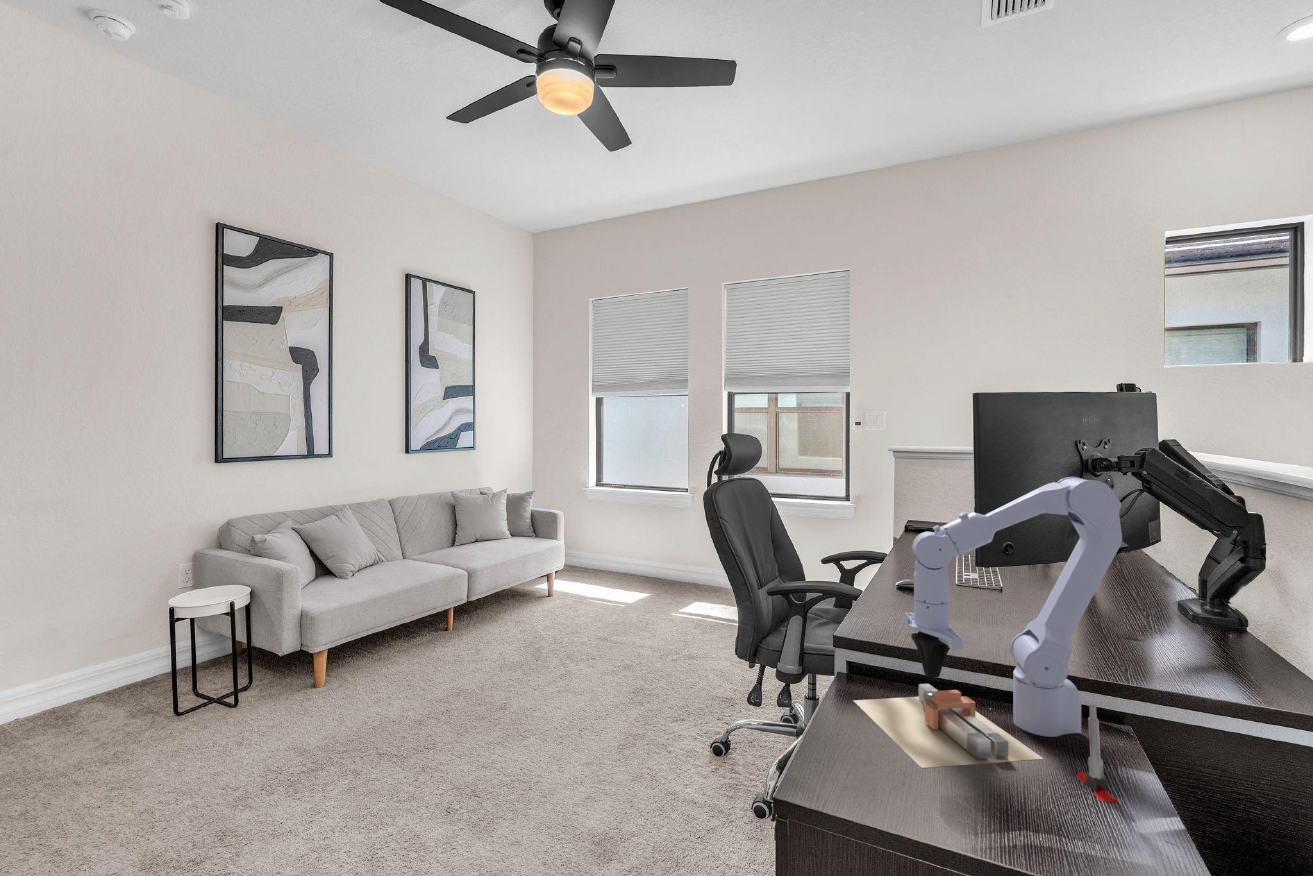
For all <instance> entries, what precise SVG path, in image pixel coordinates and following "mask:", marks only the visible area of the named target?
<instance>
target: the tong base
mask: <svg viewBox="0 0 1313 876" xmlns="http://www.w3.org/2000/svg"><path fill="white" fill-rule="evenodd" d="M935 691H939V690H938V689H937V688H935V687H934V686H933V685H931V684H930V683H920V684H918V697H919V700H920V701H922V702H923V711H924V712H925V699H928V698H935ZM948 710H949V711H951V712H952V713H953V714H955V715H956V716H957V717H959V718H960V719H961V720H963V721H964V722H965V723H966V724H968V725H969V726H970V727H972V728H973V729H974V730H976V731H977V732H978V733H981V734H982V735H983V736H985V737H986V738H987V739H988V740H990V741H991V757H992V758H993V759H994V760H1007V759H1008V740H1006V739H1005V738H1003V737H1002V736H1001V735H999V734H998V733H996V732H995V731H994V730H992V729H991V728H989V727H988V726H987V725H985V724H984V723H983V722H981V721H980V720H978V719H977V718H976V717H974V716H973V715H971V714H970V713H969V712H967V711H966V710H964V709H963V708H954V709H948Z"/></svg>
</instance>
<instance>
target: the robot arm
mask: <svg viewBox="0 0 1313 876" xmlns="http://www.w3.org/2000/svg"><path fill="white" fill-rule="evenodd" d="M1121 507H1122V503H1121V501H1120V500H1119V498H1118V497H1117V495H1116V494H1115V492H1114V491H1113V489H1112V487H1110V486H1109V485H1108V484H1106V483H1104V482H1103V481H1100V480H1095V479H1094V480H1093V479H1085V478H1081V477H1079V476H1068V477H1064V478H1061V479H1059V480H1058V481H1057V482H1055V481H1053V482H1050V483H1046V484H1045V485H1042V486H1040V487H1038V488H1035V489H1034V490H1031V491H1030V492H1028V493H1026V494H1024V495H1022V496H1020V497H1018V498H1016V499H1014V500H1012V501H1010V502H1008V503H1006V504H1004V505H1002V506H1000V507H998V508H996V509H994V510H992V511H989V512H987V513H986V514H981V513H978V512H974V511H973V512H970V513H967V512H966V511H964V512H961V513H959V514H958V515H957V516H958V518H957V519H955V520H953V521H950V522H948V523H946V524H944V525H942V526H939V525H938V524H937V525H935V526H933V527H932V529H933V531H934V532H933V531H924V532H921V533H919V534H918V535H917V536H915V539H914V540H913V542H912V544H911V551H912V553H913V555H914V557H915V559H914V560H915V561H914V573H913V598H914V599H913V600H914V601H913V602H914V603H913V604H914V605H913V607H914V609H913V611H914V612H904V623H905V624H906V625H908V628H909V629H910V630H912V631H915V632H913V633H911V635H910V637H911V639H912V641H913V643H914V645H915V647H916V649H917V652H918V654H919V657H920V661H921V666H922V669H923V673H924V675H925V676H926V677H928V678H939V677H940V675H941V672H942V669H943V665H944V663H945V659H946V656H947V654H948V653H949V652H950V650H952V651H953V650H963V649H964V644H963V642H964V639H963V637H962V636H960V635H959V634H958V633H957V631H955V629H953V627H952V626H951V625H950V575H949V565H950V563H951V562H952V559H953V557H955V558H957V557H959V556H962V555H964V554H967V553H969V552H971V551H974V550H975V549H978V548H980V547H982V546H985V545H988V544H989V543H991V542H993V540H994V536H995V533H996V532H998V531H1000V530H1003V529H1005V528H1008V527H1011V526H1014V525H1016V524H1018V523H1021V522H1023V521H1027V520H1029V519H1031V518H1032V519H1033V518H1035V517H1037V516H1039V515H1041V514H1049V515H1050V514H1051V515H1063V516H1066V517H1068V519H1069V520H1070V522H1071V523H1072V525H1073V527H1074V529H1075V530H1076V532H1077V534H1078V536H1079V539H1078V541H1077V543H1076V544H1075V546H1074V548H1073V550H1072V552H1071V554H1070V556H1069V557H1068V559H1067V562H1066V564H1065V565H1064V567H1063V569H1062V571H1061V573H1060V574H1059V577H1058V579H1057V580H1056V582H1055V584H1054V586H1053V587H1052V589H1051V592H1050V593H1049V595H1048V597H1047V598H1046V601H1045V602H1044V604H1043V606H1042V608H1041V610H1040V612H1039V614H1038V616H1037V617H1036V618H1034V619H1033V620H1031V621H1029V622H1028V623H1027V625H1026V626H1025V628H1024V629H1023V631H1021V632H1020V633H1018V634H1017V635H1015V636H1014V637H1013V638H1012V640H1011V642H1010V644H1009V645H1010V648H1009V649H1010V654H1011V656H1012V657H1013V659H1014V660H1015V662H1017V664H1016V666H1015V668H1014V670H1013V672H1012V674H1013V677H1012V678H1013V680H1012V681H1013V682H1012V683H1013V685H1012V686H1013V691H1012V693H1013V698H1012V699H1013V704H1012V706H1013V708H1012V709H1013V711H1012V713H1013V714H1012V715H1013V720H1012V722H1013V725H1015V726H1017V728H1019V729H1020V730H1022V731H1024V732H1027V733H1030V734H1033V735H1036V736H1040V737H1041V736H1042V737H1060V736H1062V735H1068V734H1080V735H1081V734H1082V699H1081V695H1080V692H1079V690H1078V688H1077V687H1076V685H1075V684H1074V683H1073V682H1072V681H1071V680H1070V679H1068V678H1067V677H1068V675H1069V664H1068V663H1069V659H1070V657H1071V655H1072V653H1073V646H1072V645H1073V644H1072V635H1073V634H1074V632H1075V630H1076V628H1077V626H1078V625H1079V622H1080V621H1081V619H1082V617H1083V615H1084V614H1085V611H1087V610H1086V609H1087V608H1088V606H1089V604H1090V602H1091V601H1092V599H1093V597H1094V595H1095V593H1096V591H1097V590H1098V589H1099V588H1098V587H1099V586H1100V584H1101V582H1102V580H1103V579H1104V577H1105V575H1106V573H1107V571H1108V569H1109V567H1110V565H1111V564H1112V561H1113V560H1114V558H1115V556H1116V555H1117V552H1118V551H1119V549H1120V547H1121V545H1122V543H1123V534H1122V527H1121V526H1122V525H1121V517H1120V510H1121Z"/></svg>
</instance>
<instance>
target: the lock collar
mask: <svg viewBox="0 0 1313 876" xmlns="http://www.w3.org/2000/svg"><path fill="white" fill-rule="evenodd" d="M954 708H963V709H964V710H966V711H967V712H969V713H970V714H971V715H973V716H974V717H975V711H976V702H975V701H974V700H973V699H972V698H970V697H968V696H966V695H965V696H962V692H961V691H959V690H957V689H950V690H938V691H935V698H928V699H925V723H927V724H928V725H929V726H930V727H931V728H932V729H938V709H954Z"/></svg>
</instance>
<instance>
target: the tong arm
mask: <svg viewBox="0 0 1313 876" xmlns="http://www.w3.org/2000/svg"><path fill="white" fill-rule="evenodd" d="M938 727H940V728H941V729H942V730H943V731H944V732H946V733H947V734H948V735H949V736H950V737H952V738H953V739H954V740H955V741H956V742H958V743H959V744H960V745H961V746H962V747H964V748H965V749H966V750H967V751H968V752H970V753H971V754H972V755H973V756H974V757H976V758H977V759H985V758H991V741H990V740H988V739H987V738H986V737H985V736H983V735H982V734H981V733H978V732H977V731H976V730H974V729H973V728H972V727H970V726H969V725H968V724H966V723H965V722H964V721H963V720H961V719H960V718H959V717H957V716H956V715H955V714H953V713H952V712H951V711H949V710H948V709H938Z"/></svg>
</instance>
